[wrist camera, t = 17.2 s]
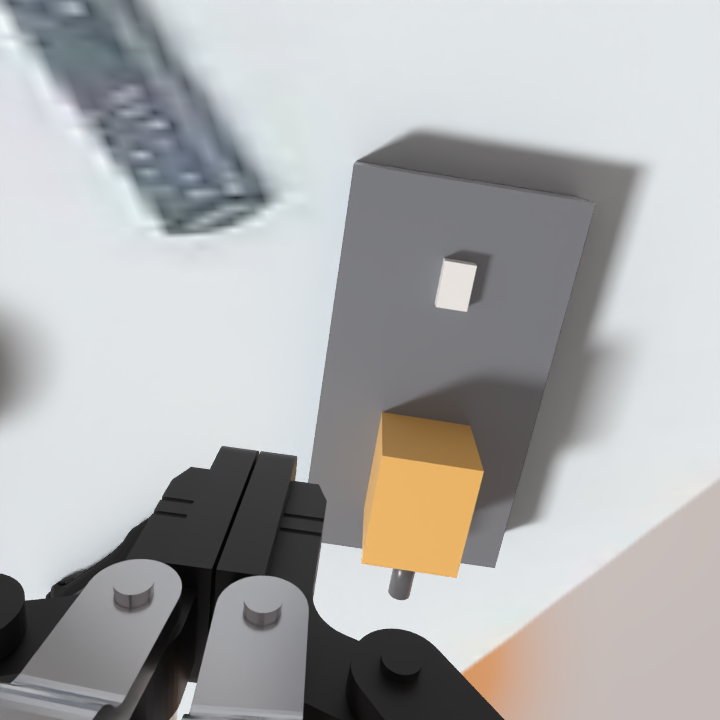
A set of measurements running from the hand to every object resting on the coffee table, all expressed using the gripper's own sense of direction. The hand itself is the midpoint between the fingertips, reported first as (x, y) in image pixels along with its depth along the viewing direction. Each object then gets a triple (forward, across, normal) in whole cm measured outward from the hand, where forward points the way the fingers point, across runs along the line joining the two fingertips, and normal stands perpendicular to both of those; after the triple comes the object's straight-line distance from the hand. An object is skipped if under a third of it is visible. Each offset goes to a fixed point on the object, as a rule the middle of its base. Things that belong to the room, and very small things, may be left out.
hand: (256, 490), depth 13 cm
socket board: (+24, -6, +6) cm, 26 cm away
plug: (+24, -6, +13) cm, 28 cm away
